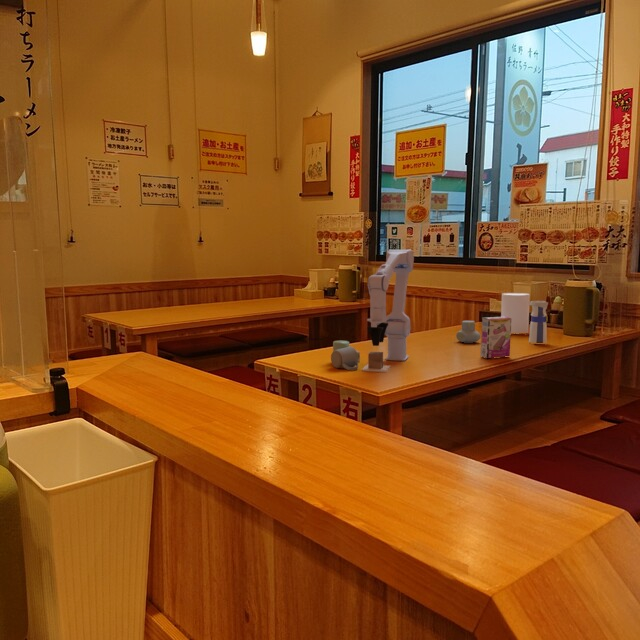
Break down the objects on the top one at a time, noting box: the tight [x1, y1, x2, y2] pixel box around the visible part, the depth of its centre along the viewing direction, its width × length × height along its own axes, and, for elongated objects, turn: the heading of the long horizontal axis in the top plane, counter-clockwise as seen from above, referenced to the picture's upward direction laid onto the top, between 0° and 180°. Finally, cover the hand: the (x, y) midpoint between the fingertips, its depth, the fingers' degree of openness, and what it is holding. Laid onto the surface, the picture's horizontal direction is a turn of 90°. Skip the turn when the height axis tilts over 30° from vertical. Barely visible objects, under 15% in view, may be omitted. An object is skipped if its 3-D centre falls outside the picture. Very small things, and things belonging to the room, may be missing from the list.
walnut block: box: [367, 351, 384, 369], centre depth 221 cm, size 5×5×6 cm
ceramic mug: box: [330, 346, 359, 371], centre depth 223 cm, size 11×8×8 cm
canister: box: [500, 292, 531, 334], centre depth 304 cm, size 14×14×20 cm
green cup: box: [332, 340, 350, 352], centre depth 234 cm, size 6×6×8 cm
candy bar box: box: [480, 316, 512, 359], centre depth 240 cm, size 11×5×16 cm, turn 111°
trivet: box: [361, 363, 391, 373], centre depth 221 cm, size 9×9×1 cm
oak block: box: [356, 350, 361, 363], centre depth 236 cm, size 4×4×4 cm
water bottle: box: [528, 291, 550, 344], centre depth 272 cm, size 8×9×25 cm
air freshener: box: [455, 320, 481, 344], centre depth 277 cm, size 11×8×10 cm
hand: (378, 343), depth 221 cm, fingers open, 7 cm apart
